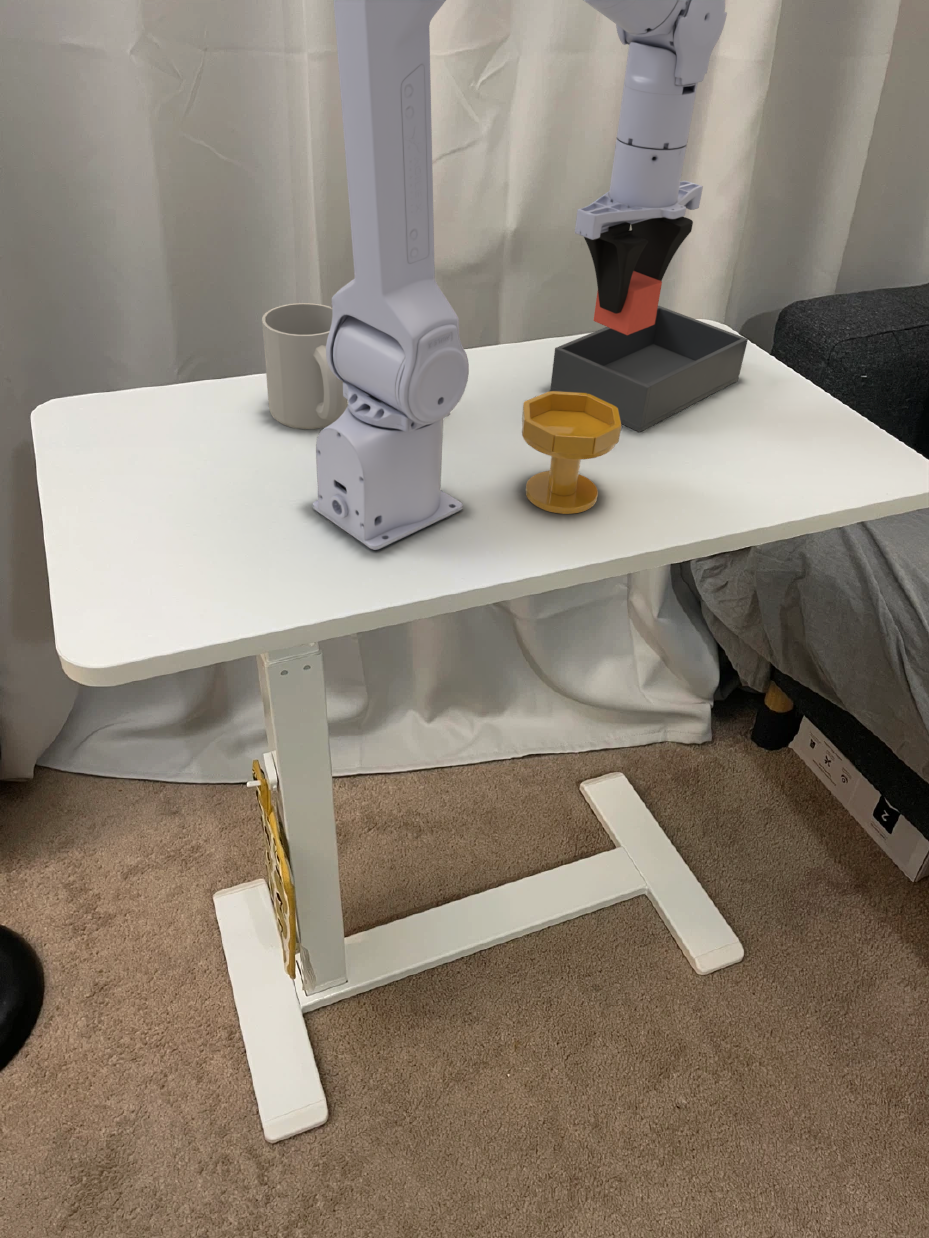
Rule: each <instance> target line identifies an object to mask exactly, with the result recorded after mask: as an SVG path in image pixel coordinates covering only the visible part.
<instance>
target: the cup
mask: <svg viewBox="0 0 929 1238" xmlns="http://www.w3.org/2000/svg"><path fill="white" fill-rule="evenodd" d="M332 317H333V313H332V306H329V305H324V304H321V303H320V304H319V303H312V302H309V303H308V302H297V303H296V302H295V303H287V304H281V305H278V306H276V307H273V308H270V309H269V310H267V311H266V312H265V313H264V314H263V316H262V317H261V324H262V336H263V350H264V362H265V375H266V388H267V400H268V401H267V402H268V409H269V412H270V414H271V416H272V418H273V419H274V420H275V421H276V422H278V423H279V424H281V425H284V426H286V427H289V428H292V429H300V430H316V429H324V428H325V427H327V426H329V425H331V424H332V423H333V422H335V421H336V420H337V419H338V418H339V417H340V416H341V415H342V414H343V413H344V411H345V410H346V408H347V406H348V400H347V399H346V398H345V397H344V396H343V381H341V380H339V379H338V378H337V377H336V376H335V375H334V374H333V373H332V372H331V370H330V368H329V366H328V363H327V359H326V344H327V338H328V335H329V331H330V328H331V324H332Z"/></svg>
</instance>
